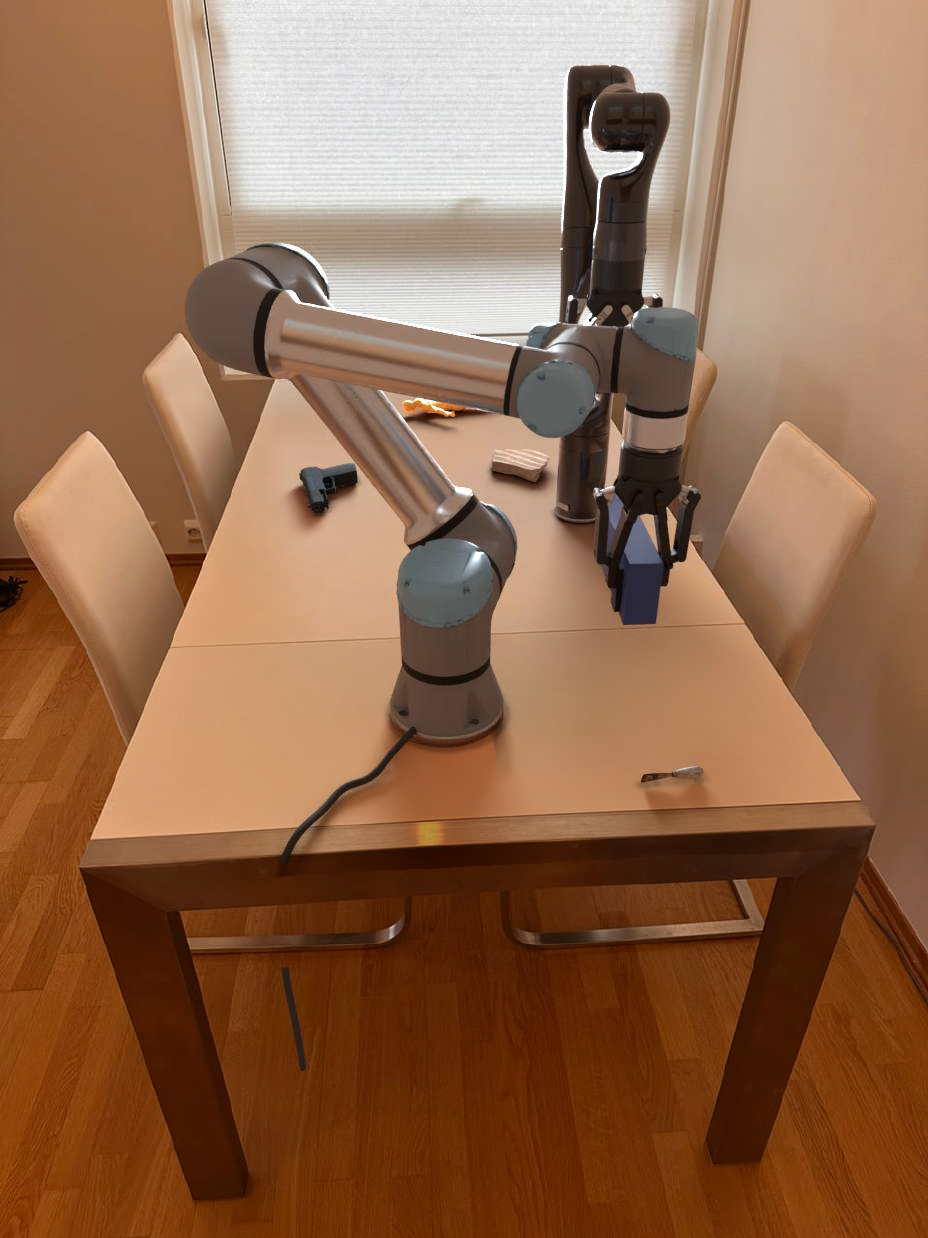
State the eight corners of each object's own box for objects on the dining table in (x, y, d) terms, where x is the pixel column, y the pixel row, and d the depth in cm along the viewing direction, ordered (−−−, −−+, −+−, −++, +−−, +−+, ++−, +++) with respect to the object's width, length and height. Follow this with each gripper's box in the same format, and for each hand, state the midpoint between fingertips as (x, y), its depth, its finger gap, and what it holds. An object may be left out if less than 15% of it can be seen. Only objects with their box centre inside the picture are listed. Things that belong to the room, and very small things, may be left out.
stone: (554, 462, 195) (554, 451, 194) (536, 482, 186) (537, 471, 185) (499, 454, 200) (499, 444, 198) (479, 474, 190) (479, 463, 189)
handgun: (369, 509, 176) (308, 516, 174) (354, 474, 190) (298, 480, 188) (368, 494, 174) (307, 501, 172) (353, 460, 189) (296, 466, 186)
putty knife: (703, 777, 109) (705, 767, 109) (642, 788, 108) (644, 777, 107) (700, 772, 110) (702, 762, 109) (639, 782, 109) (640, 771, 108)
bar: (656, 624, 118) (664, 563, 113) (623, 625, 118) (629, 564, 113) (621, 545, 137) (627, 490, 132) (593, 546, 137) (598, 491, 132)
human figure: (395, 413, 223) (394, 398, 221) (438, 390, 237) (438, 375, 235) (462, 429, 215) (462, 413, 213) (502, 404, 229) (503, 388, 227)
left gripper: (714, 430, 112) (690, 590, 125) (576, 433, 111) (565, 594, 124) (732, 452, 106) (705, 619, 118) (586, 455, 105) (574, 623, 117)
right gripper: (661, 248, 131) (650, 359, 140) (565, 250, 131) (559, 360, 139) (674, 257, 125) (661, 373, 133) (573, 259, 124) (566, 375, 133)
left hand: (633, 606), depth 121 cm, fingers closed on bar, 4 cm apart
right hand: (609, 366), depth 136 cm, fingers open, 8 cm apart
